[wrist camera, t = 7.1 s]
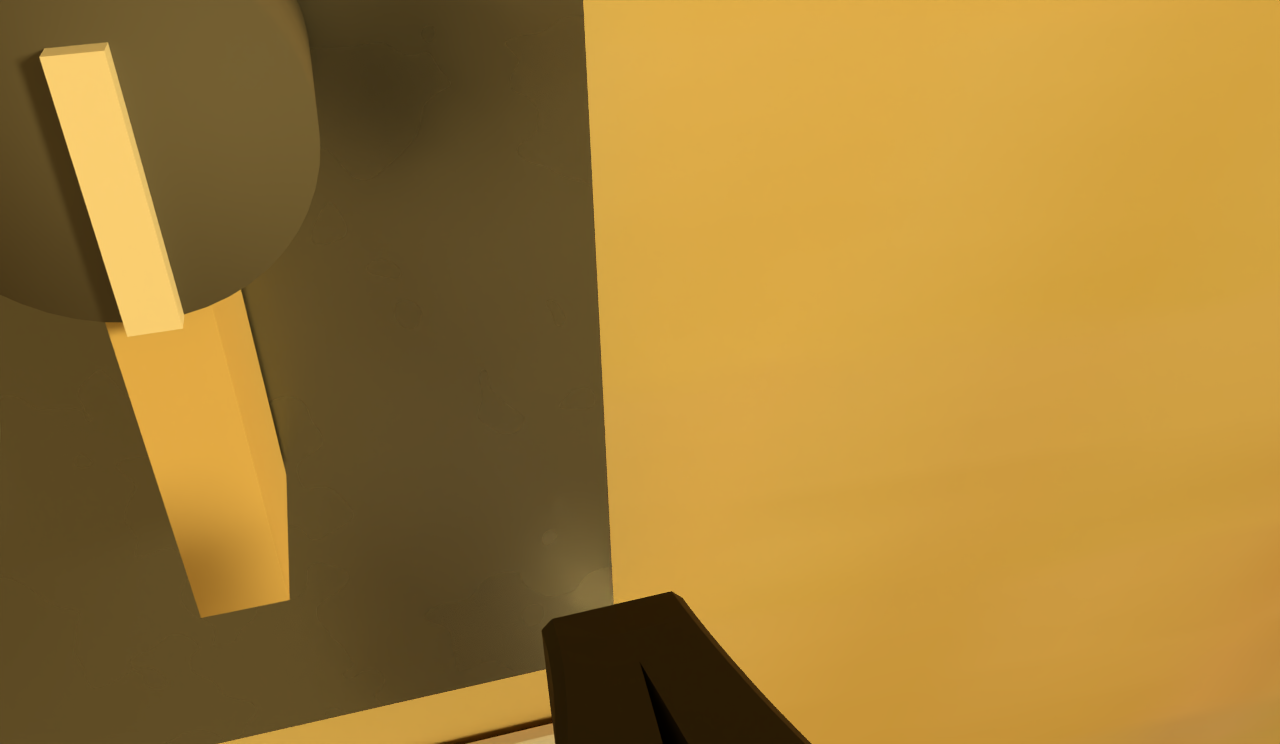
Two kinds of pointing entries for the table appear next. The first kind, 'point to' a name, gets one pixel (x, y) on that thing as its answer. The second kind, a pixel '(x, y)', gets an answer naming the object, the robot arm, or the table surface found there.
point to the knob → (168, 236)
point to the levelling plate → (345, 413)
